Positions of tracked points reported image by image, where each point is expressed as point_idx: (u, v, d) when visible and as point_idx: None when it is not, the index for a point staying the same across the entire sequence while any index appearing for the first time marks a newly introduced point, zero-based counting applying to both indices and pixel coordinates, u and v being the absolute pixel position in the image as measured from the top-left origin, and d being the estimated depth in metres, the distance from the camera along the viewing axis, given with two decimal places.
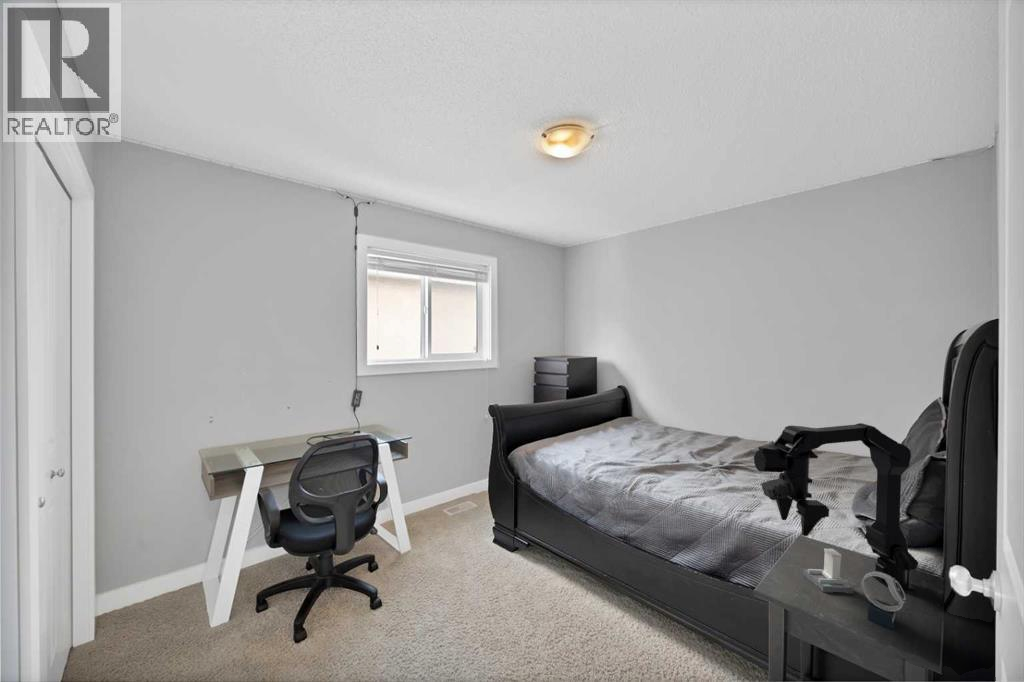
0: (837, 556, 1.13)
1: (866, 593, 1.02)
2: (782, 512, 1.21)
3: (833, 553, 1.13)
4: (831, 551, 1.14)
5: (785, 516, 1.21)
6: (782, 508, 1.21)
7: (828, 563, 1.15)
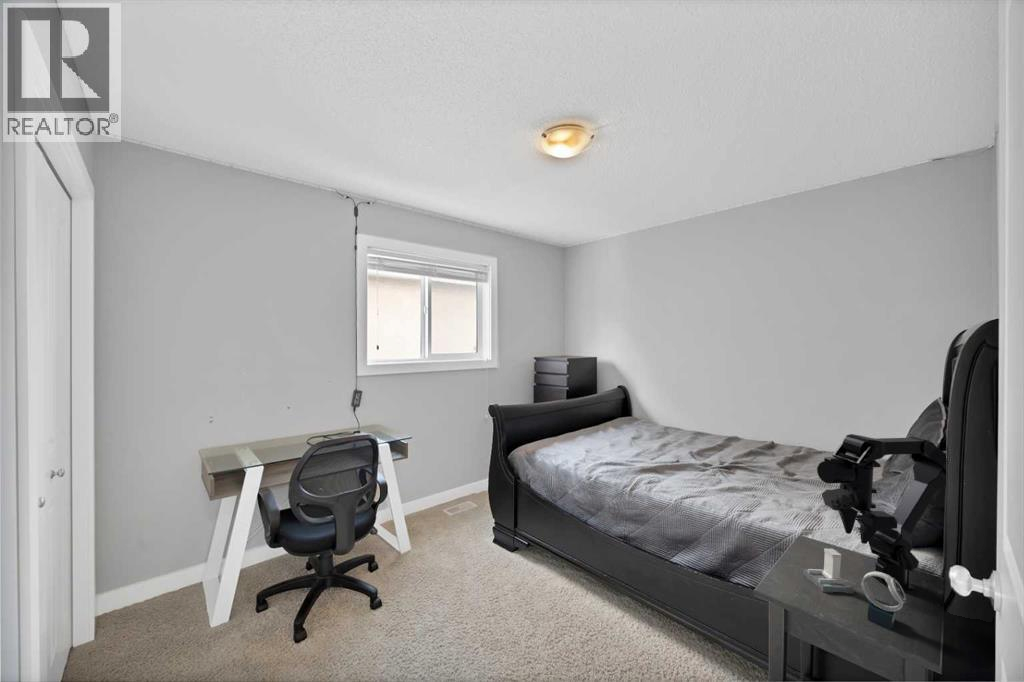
0: (837, 556, 1.13)
1: (866, 593, 1.02)
2: (846, 525, 1.17)
3: (833, 553, 1.13)
4: (831, 551, 1.14)
5: (850, 529, 1.16)
6: (847, 521, 1.17)
7: (828, 563, 1.15)
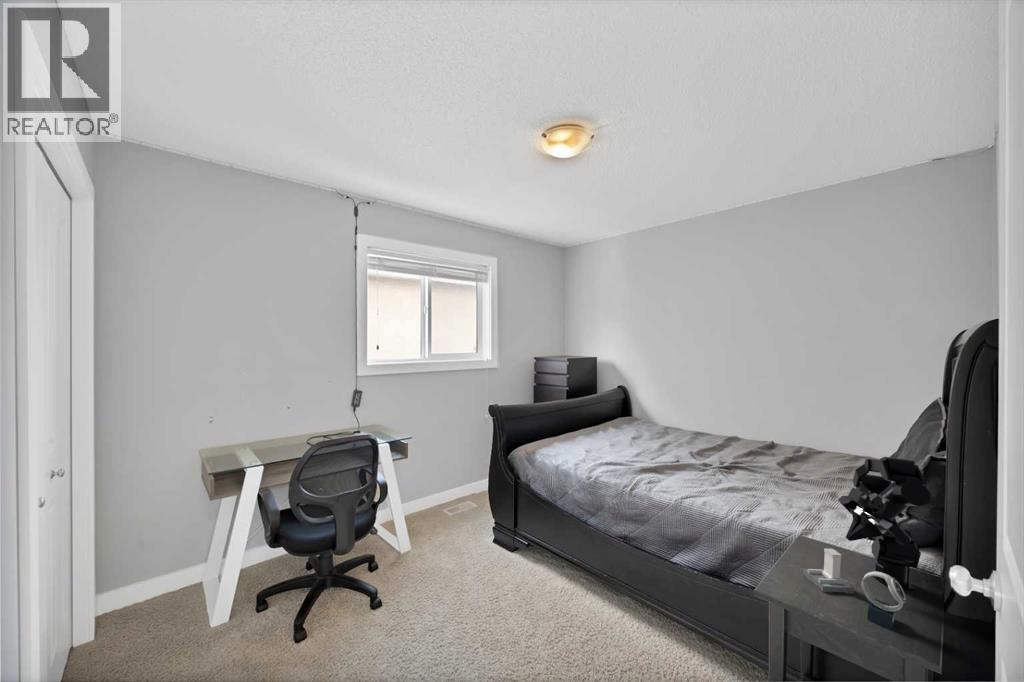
0: (837, 556, 1.13)
1: (866, 593, 1.02)
2: None
3: (833, 553, 1.13)
4: (831, 551, 1.14)
5: None
6: (855, 529, 1.15)
7: (828, 563, 1.15)
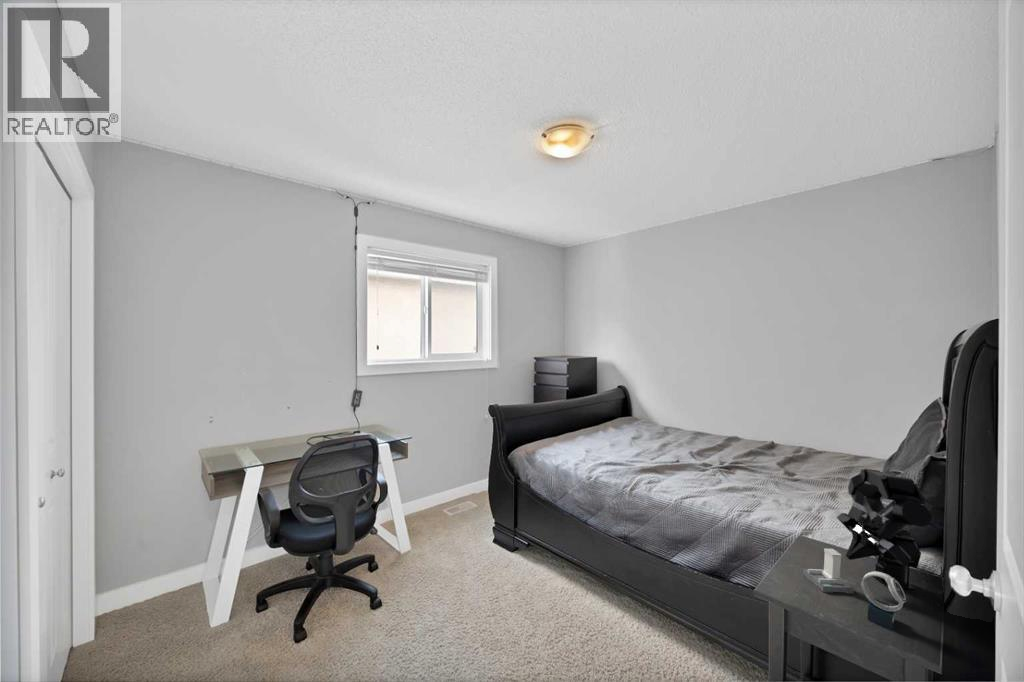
0: (837, 556, 1.13)
1: (866, 593, 1.02)
2: None
3: (833, 553, 1.13)
4: (831, 551, 1.14)
5: None
6: (855, 548, 1.15)
7: (828, 563, 1.15)
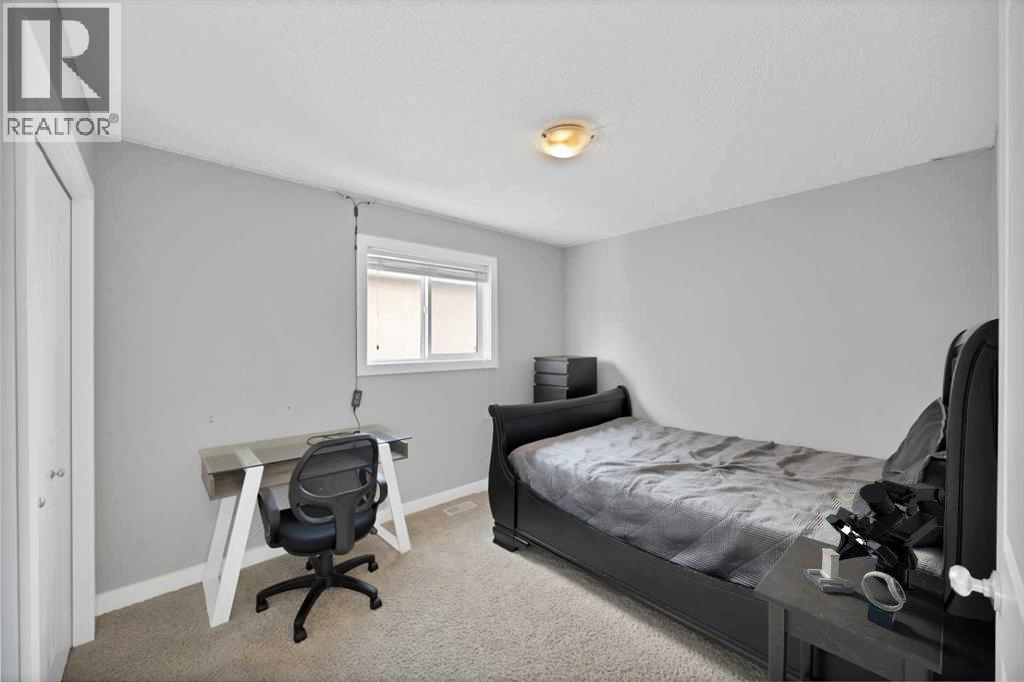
0: (835, 556, 1.13)
1: (866, 593, 1.02)
2: None
3: (831, 553, 1.13)
4: (830, 551, 1.14)
5: None
6: (843, 549, 1.14)
7: (826, 563, 1.15)
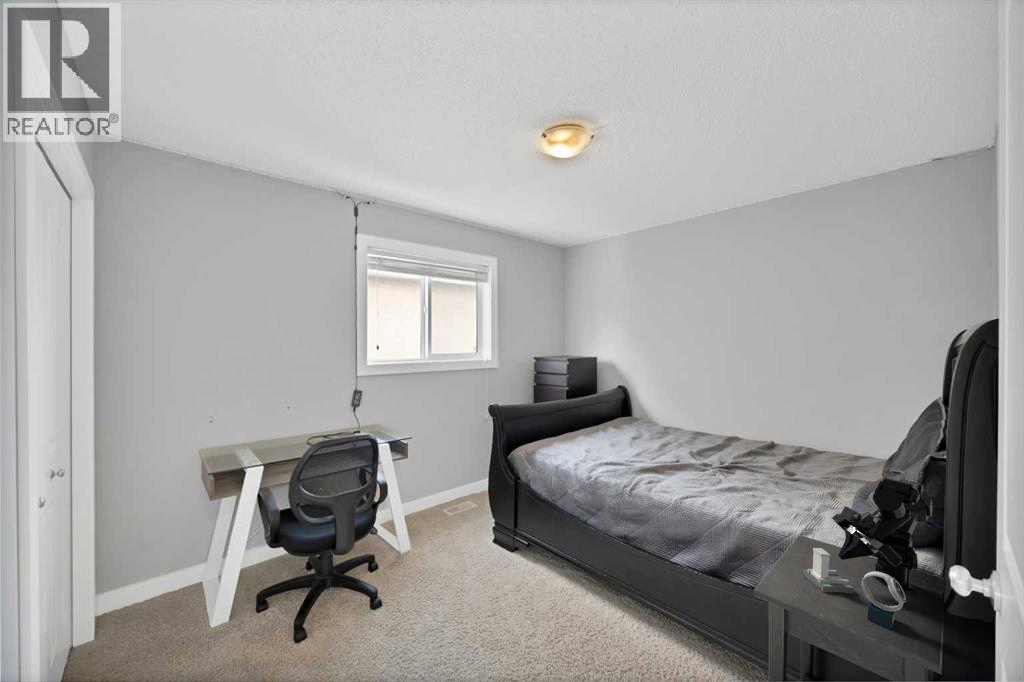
0: (826, 555, 1.13)
1: (866, 593, 1.02)
2: None
3: (822, 552, 1.14)
4: (820, 551, 1.14)
5: None
6: None
7: (816, 563, 1.15)
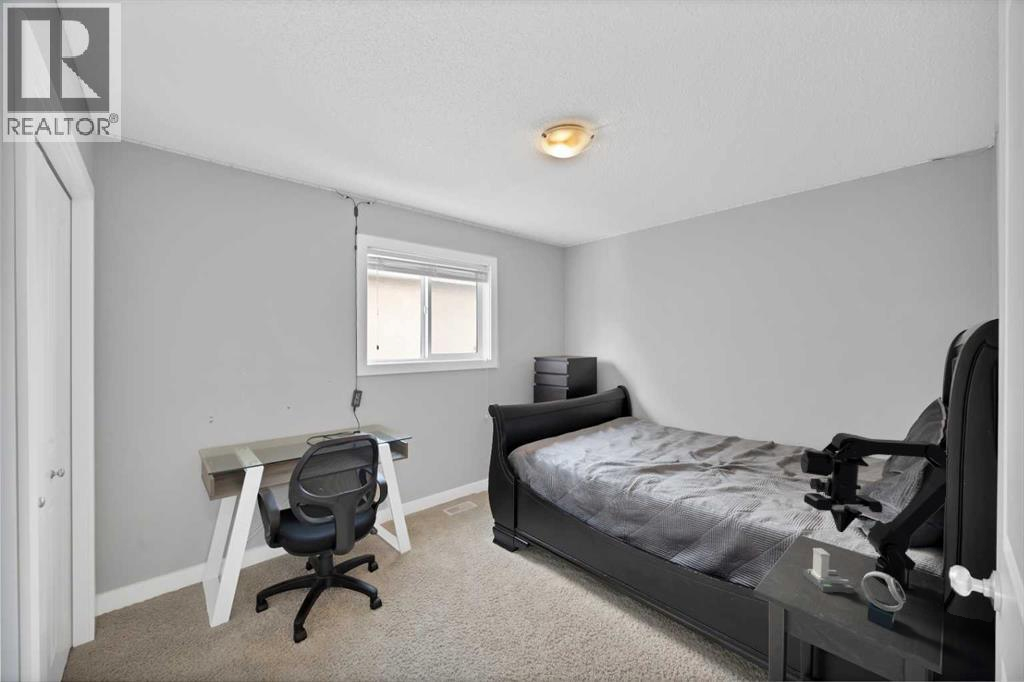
0: (826, 555, 1.13)
1: (866, 593, 1.02)
2: None
3: (822, 552, 1.14)
4: (820, 551, 1.14)
5: None
6: None
7: (816, 563, 1.15)
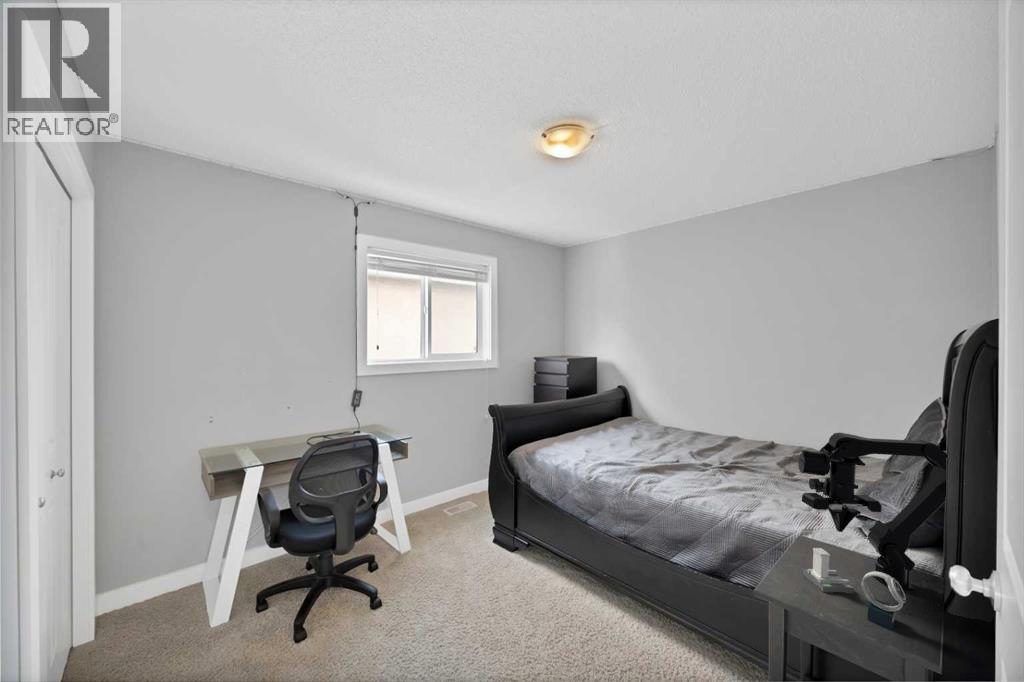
0: (826, 555, 1.13)
1: (866, 593, 1.02)
2: None
3: (822, 552, 1.14)
4: (820, 551, 1.14)
5: None
6: None
7: (816, 563, 1.15)
